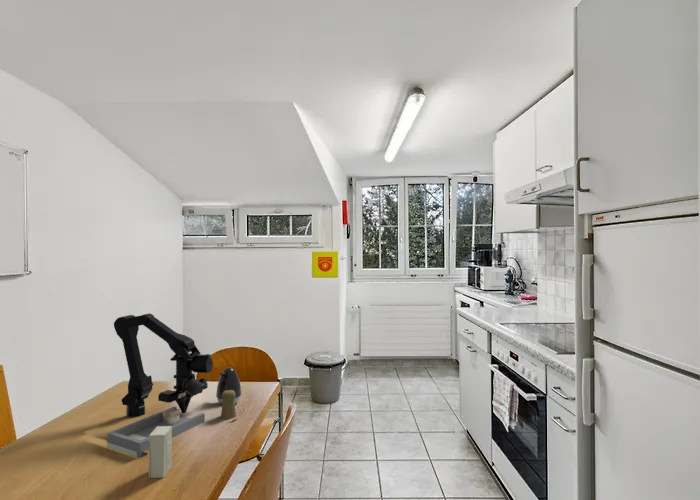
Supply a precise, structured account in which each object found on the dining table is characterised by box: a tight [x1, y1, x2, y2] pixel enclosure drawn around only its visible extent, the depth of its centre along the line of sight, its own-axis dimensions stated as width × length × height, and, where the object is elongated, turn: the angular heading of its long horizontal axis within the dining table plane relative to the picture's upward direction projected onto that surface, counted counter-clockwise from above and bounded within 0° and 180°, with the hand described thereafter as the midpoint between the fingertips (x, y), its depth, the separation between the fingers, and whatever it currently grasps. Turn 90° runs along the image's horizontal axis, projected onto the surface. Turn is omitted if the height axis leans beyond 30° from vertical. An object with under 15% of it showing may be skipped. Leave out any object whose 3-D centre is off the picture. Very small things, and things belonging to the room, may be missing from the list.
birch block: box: [162, 407, 181, 424], centre depth 148 cm, size 4×4×4 cm
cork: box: [220, 390, 237, 424], centre depth 153 cm, size 6×6×11 cm
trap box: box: [106, 406, 206, 459], centre depth 139 cm, size 16×26×4 cm, turn 154°
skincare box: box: [148, 426, 173, 479], centre depth 116 cm, size 6×4×12 cm
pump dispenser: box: [215, 366, 242, 405], centre depth 170 cm, size 10×10×15 cm
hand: (183, 413), depth 153 cm, fingers closed
